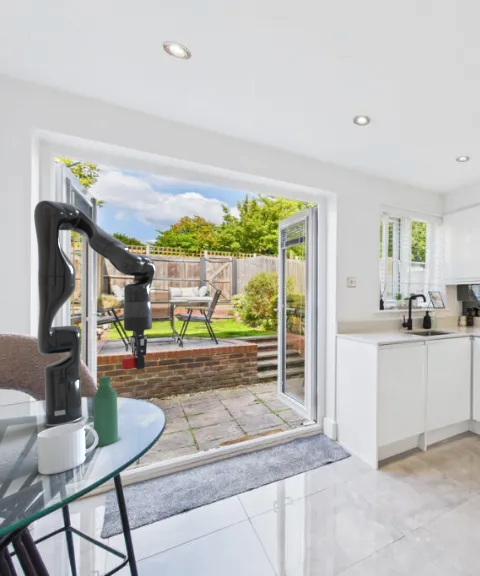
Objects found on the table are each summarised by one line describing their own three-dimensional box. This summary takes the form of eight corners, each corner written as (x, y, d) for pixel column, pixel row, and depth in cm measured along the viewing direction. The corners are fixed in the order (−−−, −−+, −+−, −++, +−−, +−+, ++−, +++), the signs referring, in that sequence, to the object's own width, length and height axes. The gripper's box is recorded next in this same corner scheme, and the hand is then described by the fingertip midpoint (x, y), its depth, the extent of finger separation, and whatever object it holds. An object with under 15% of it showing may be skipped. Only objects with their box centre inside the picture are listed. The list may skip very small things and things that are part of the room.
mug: (39, 479, 85) (38, 440, 84) (37, 466, 91) (36, 430, 91) (102, 460, 93) (101, 425, 93) (96, 449, 100) (95, 417, 99)
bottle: (93, 442, 105) (91, 377, 105) (116, 436, 109) (115, 373, 108) (95, 448, 101) (93, 380, 101) (119, 441, 105) (117, 376, 104)
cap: (129, 369, 110) (128, 359, 110) (119, 369, 112) (118, 359, 111) (141, 366, 114) (140, 356, 114) (131, 365, 115) (131, 355, 115)
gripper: (156, 315, 112) (157, 369, 112) (147, 313, 122) (148, 362, 122) (127, 317, 107) (128, 373, 107) (120, 315, 117) (122, 366, 117)
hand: (139, 367), depth 114 cm, fingers closed on cap, 3 cm apart
